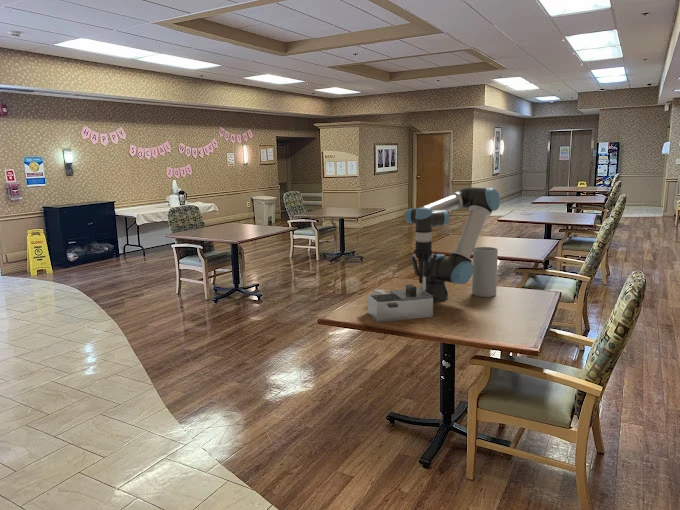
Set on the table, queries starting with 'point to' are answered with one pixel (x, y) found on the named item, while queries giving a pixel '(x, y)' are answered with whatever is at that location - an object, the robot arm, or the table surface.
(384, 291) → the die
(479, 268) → the cylinder vase
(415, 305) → the grey lidded storage box
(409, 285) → the lid
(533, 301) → the table surface
